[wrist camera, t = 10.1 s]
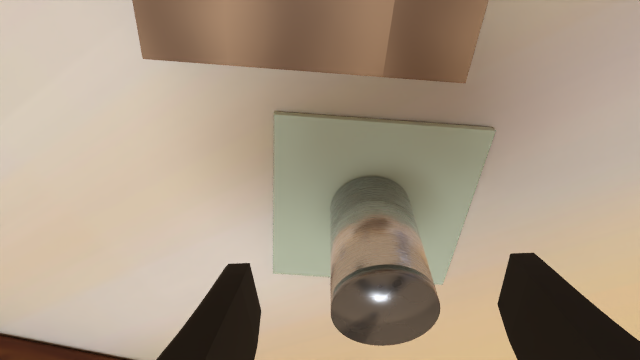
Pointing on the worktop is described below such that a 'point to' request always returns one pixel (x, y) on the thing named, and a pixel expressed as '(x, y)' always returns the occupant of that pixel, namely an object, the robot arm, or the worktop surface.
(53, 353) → the diary
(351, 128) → the rubber mat
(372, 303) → the shiny metal cylinder
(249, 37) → the bore plate
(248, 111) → the worktop surface
